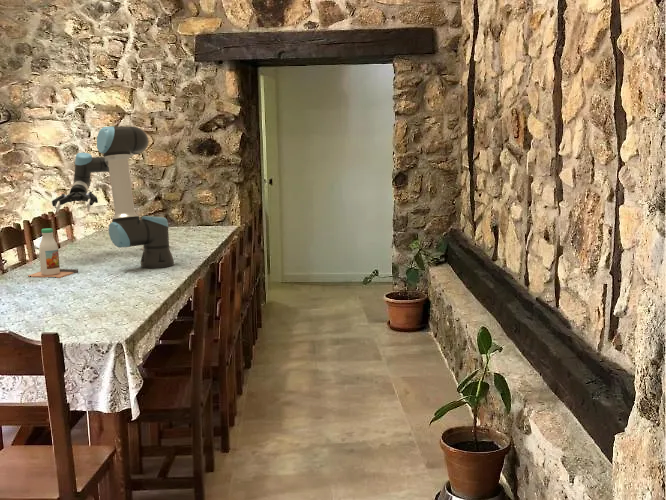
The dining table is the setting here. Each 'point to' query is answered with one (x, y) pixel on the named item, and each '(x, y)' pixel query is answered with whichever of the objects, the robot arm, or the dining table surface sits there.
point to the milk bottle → (49, 253)
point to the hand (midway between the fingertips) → (72, 208)
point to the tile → (51, 275)
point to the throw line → (69, 270)
